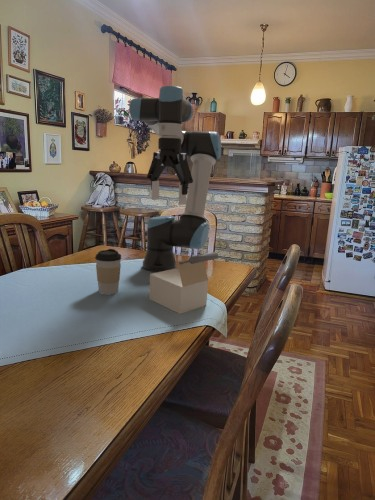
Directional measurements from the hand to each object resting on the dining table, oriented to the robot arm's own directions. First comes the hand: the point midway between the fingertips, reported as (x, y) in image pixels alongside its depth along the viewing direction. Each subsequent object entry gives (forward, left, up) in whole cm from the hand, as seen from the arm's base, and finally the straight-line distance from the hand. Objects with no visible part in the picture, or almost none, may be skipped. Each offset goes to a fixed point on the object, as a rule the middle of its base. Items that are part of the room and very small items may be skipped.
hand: (168, 202), depth 123 cm
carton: (+3, +10, -33) cm, 35 cm away
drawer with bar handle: (+3, +16, -20) cm, 26 cm away
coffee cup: (+16, -13, -33) cm, 39 cm away
